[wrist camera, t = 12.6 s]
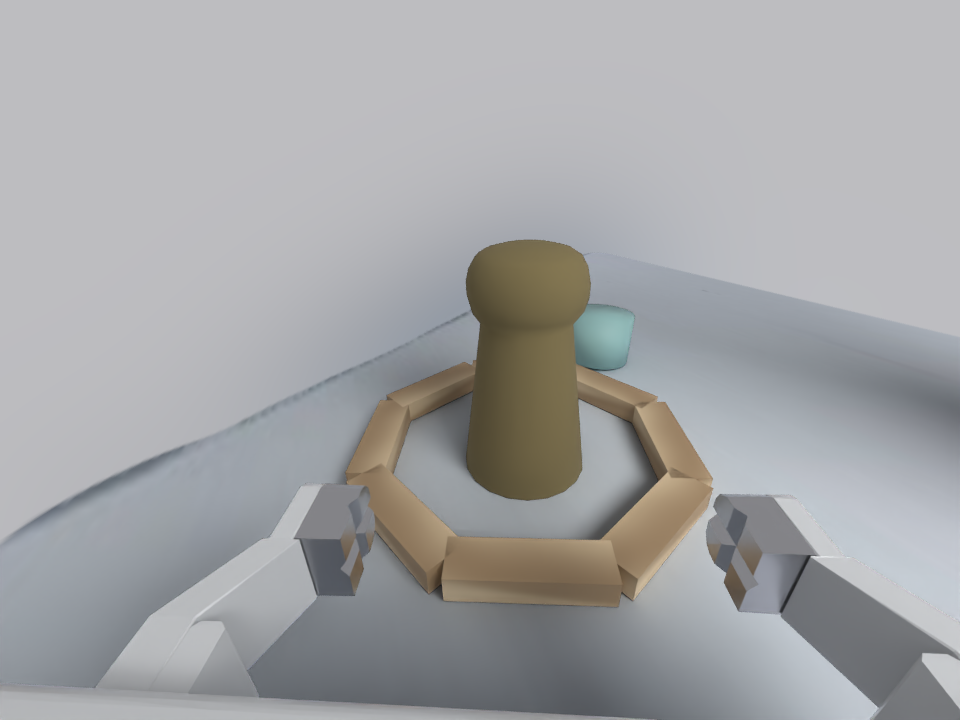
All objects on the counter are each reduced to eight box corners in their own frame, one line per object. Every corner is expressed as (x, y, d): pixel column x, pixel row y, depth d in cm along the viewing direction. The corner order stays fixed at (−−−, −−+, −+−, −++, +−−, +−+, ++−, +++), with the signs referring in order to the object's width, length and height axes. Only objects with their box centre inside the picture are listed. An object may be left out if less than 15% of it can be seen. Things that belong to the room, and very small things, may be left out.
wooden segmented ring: (636, 375, 29) (639, 360, 29) (771, 612, 14) (782, 589, 14) (401, 375, 30) (399, 360, 30) (303, 596, 15) (295, 574, 15)
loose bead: (581, 342, 34) (586, 300, 33) (634, 355, 32) (642, 311, 31) (556, 358, 31) (561, 313, 30) (614, 375, 29) (622, 327, 27)
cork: (487, 415, 25) (482, 228, 20) (589, 433, 24) (611, 232, 18) (447, 483, 20) (427, 257, 15) (572, 513, 18) (597, 267, 13)
